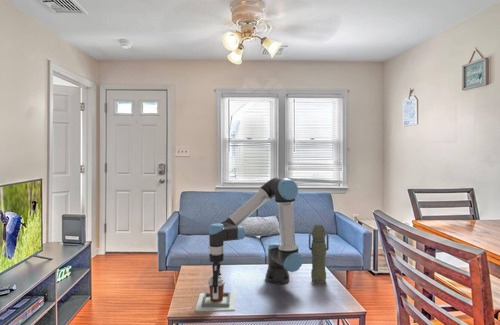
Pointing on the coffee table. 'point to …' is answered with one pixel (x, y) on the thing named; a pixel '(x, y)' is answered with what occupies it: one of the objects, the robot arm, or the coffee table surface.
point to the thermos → (318, 254)
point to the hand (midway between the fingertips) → (216, 293)
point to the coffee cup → (220, 289)
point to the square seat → (225, 305)
